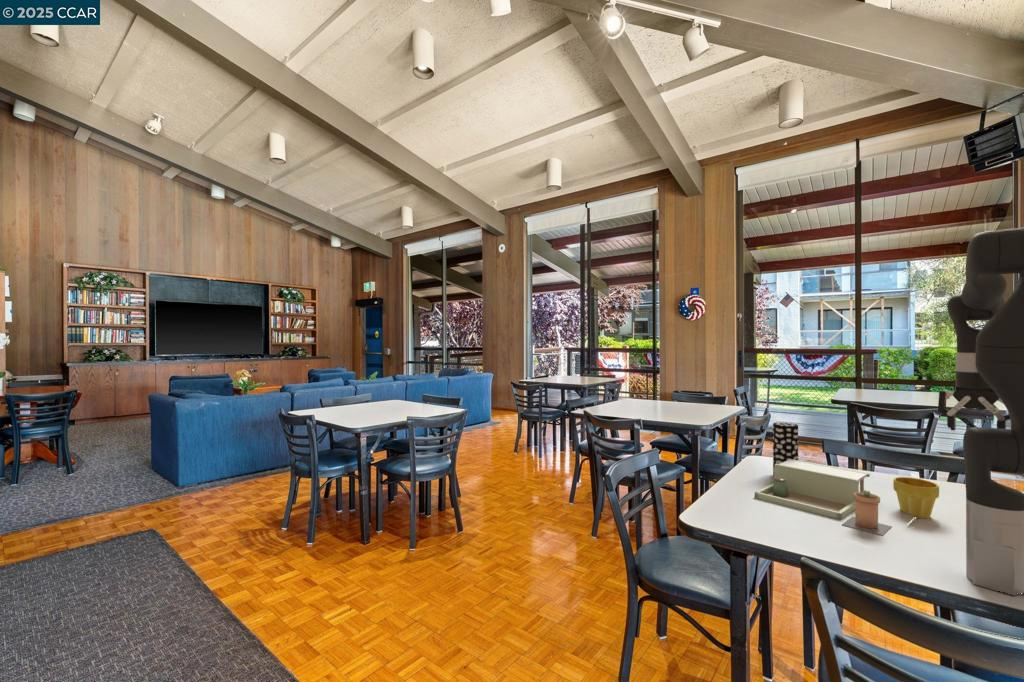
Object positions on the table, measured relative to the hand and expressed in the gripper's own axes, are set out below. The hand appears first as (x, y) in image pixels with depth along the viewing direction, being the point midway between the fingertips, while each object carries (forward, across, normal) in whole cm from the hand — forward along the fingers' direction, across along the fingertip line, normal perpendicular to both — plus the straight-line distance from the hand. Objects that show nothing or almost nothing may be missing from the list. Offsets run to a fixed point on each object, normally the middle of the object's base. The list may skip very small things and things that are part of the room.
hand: (975, 432), depth 120 cm
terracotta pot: (+27, -20, -13) cm, 36 cm away
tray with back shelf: (+28, -38, +1) cm, 47 cm away
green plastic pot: (+27, -46, -4) cm, 53 cm away
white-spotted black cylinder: (+28, -54, +22) cm, 65 cm away
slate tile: (+28, -20, -13) cm, 37 cm away
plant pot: (+28, -14, +11) cm, 33 cm away
